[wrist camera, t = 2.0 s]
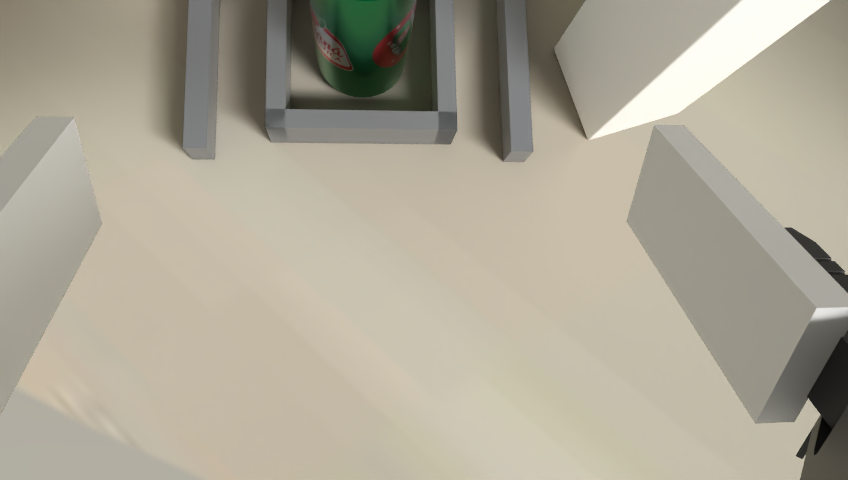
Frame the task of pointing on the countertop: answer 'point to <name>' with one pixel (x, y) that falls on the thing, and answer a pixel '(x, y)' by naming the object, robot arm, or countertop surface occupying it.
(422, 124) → the grey railed frame
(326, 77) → the soda can
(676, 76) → the milk
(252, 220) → the countertop surface
